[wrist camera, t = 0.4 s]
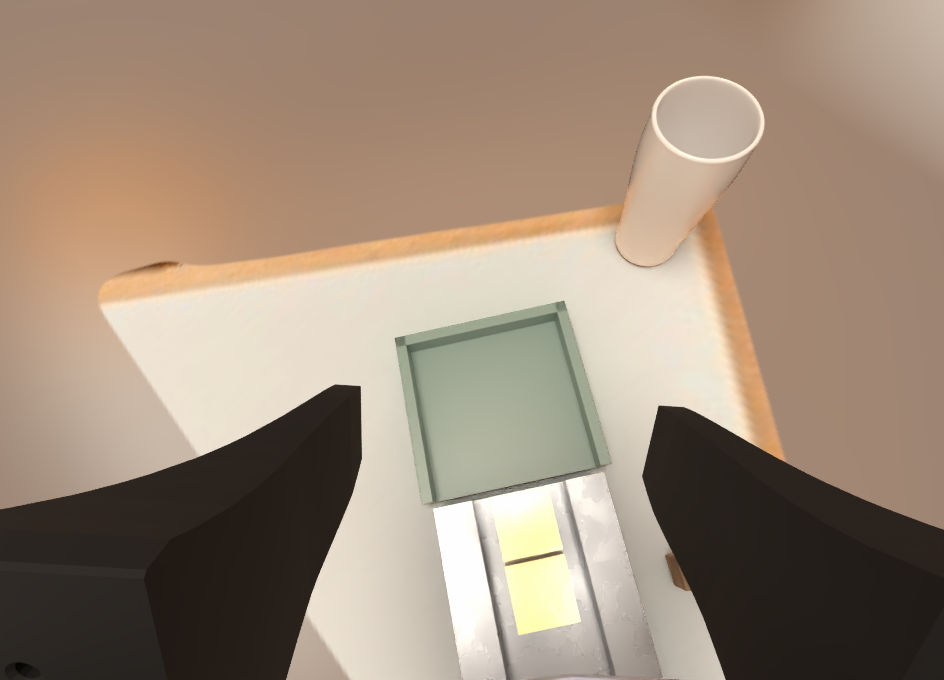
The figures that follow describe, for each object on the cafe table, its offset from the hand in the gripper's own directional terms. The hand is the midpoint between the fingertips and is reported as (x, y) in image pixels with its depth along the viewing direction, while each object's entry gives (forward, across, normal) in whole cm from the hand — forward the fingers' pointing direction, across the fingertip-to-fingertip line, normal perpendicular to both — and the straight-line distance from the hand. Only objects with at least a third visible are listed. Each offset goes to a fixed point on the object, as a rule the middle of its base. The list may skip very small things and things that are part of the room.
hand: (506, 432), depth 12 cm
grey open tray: (+16, -6, +24) cm, 29 cm away
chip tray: (+25, -2, +13) cm, 28 cm away
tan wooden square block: (+18, -4, +18) cm, 26 cm away
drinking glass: (+34, -14, 0) cm, 37 cm away
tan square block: (+15, -5, +22) cm, 27 cm away
